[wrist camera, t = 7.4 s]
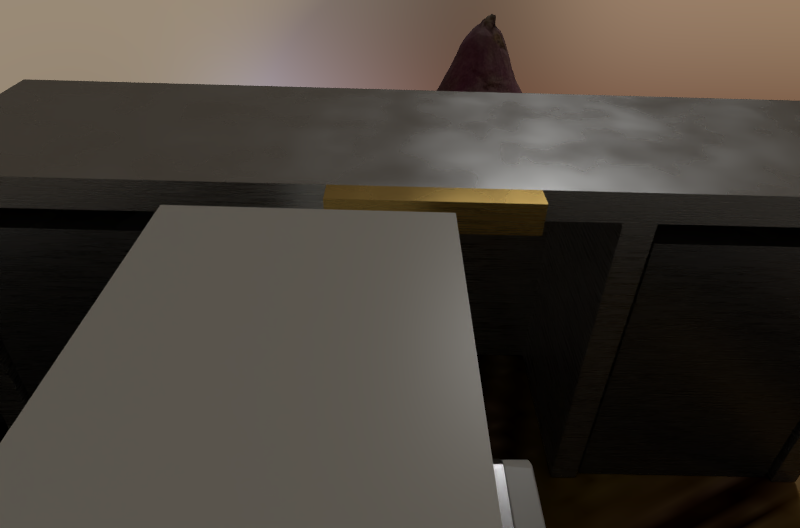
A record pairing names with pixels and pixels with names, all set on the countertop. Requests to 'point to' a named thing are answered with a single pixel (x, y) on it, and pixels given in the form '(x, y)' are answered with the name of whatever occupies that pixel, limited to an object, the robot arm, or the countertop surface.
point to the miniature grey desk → (464, 238)
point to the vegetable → (481, 63)
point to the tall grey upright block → (264, 382)
